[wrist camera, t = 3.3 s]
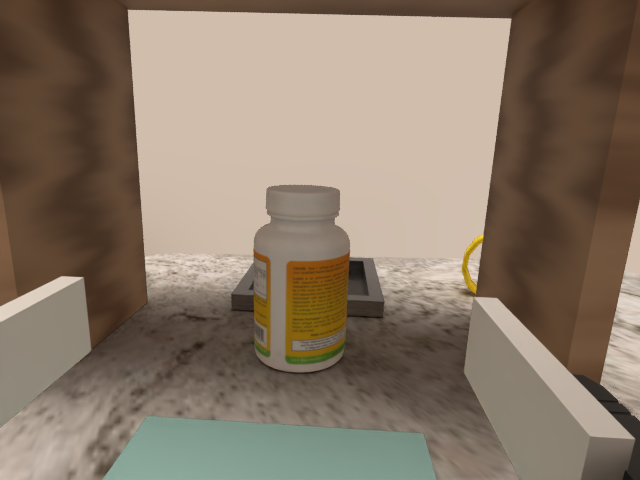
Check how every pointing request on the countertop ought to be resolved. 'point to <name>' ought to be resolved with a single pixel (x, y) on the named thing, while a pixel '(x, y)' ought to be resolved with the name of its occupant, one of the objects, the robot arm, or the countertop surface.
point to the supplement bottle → (301, 280)
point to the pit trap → (361, 290)
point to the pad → (268, 452)
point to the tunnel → (517, 3)
